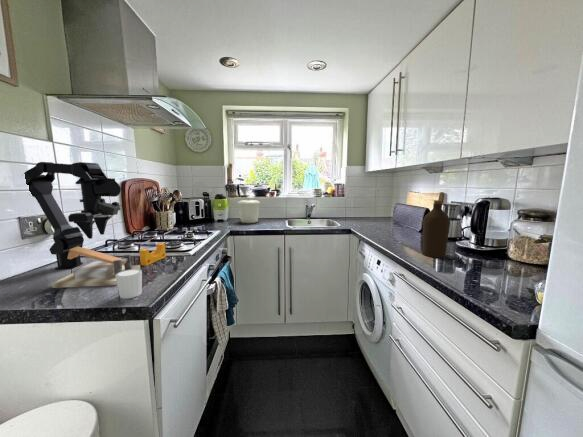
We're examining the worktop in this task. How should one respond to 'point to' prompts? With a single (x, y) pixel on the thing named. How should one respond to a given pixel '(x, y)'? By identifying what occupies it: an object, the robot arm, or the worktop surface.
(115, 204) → the robot arm
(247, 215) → the canister
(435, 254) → the olive oil
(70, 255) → the tan wooden bar
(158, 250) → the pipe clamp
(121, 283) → the white cylinder
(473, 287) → the worktop surface
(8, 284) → the worktop surface
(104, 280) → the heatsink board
